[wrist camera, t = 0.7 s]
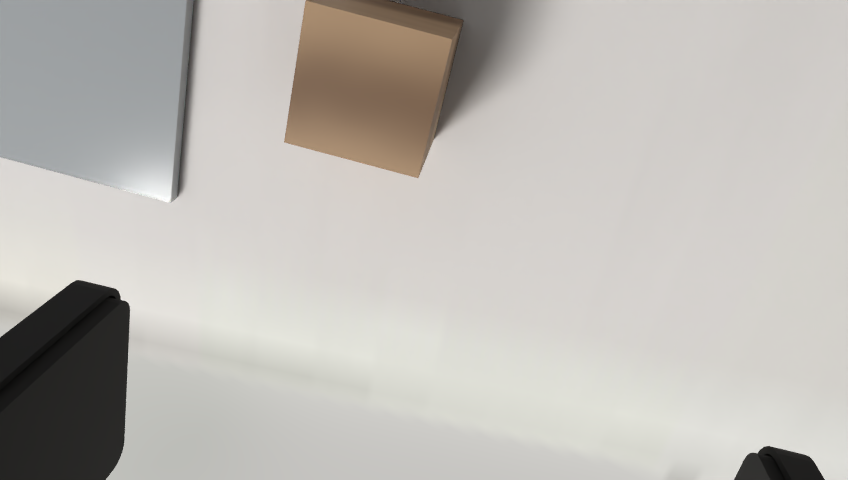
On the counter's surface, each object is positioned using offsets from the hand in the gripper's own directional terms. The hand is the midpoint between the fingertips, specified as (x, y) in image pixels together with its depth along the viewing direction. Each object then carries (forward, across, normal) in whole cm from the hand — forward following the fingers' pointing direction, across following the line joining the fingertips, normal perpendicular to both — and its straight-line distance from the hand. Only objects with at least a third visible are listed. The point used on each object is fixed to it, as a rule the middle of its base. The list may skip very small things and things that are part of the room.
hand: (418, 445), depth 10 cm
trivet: (+26, +21, +3) cm, 34 cm away
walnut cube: (+26, +5, -1) cm, 27 cm away
